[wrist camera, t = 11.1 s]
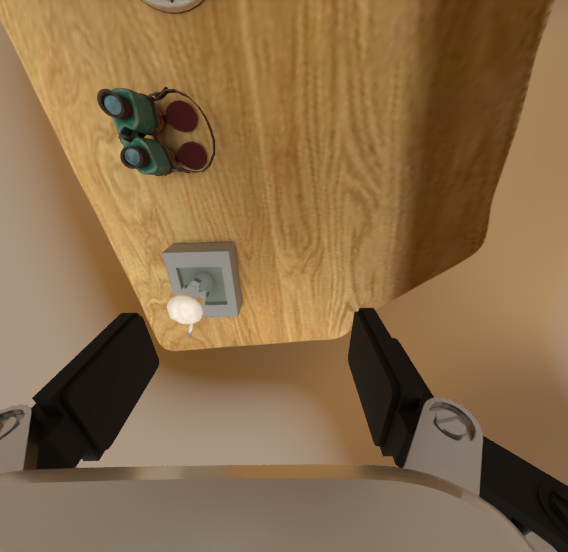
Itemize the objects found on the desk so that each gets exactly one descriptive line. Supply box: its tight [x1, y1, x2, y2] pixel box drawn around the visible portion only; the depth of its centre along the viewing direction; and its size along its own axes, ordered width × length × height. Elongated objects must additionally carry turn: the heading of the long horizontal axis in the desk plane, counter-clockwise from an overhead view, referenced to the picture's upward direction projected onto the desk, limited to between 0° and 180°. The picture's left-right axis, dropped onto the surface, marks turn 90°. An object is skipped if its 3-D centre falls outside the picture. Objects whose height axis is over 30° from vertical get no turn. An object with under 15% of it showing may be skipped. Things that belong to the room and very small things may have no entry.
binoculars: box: [97, 87, 215, 176], centre depth 27 cm, size 9×11×10 cm
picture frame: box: [162, 242, 242, 317], centre depth 39 cm, size 12×10×4 cm
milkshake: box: [167, 272, 214, 338], centre depth 33 cm, size 4×5×10 cm
